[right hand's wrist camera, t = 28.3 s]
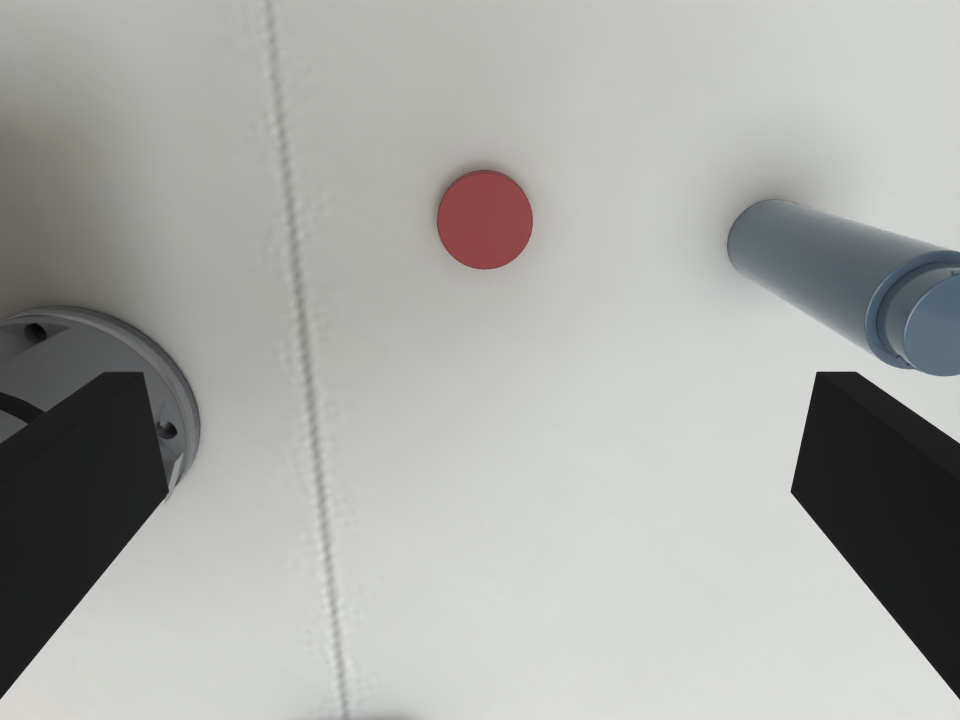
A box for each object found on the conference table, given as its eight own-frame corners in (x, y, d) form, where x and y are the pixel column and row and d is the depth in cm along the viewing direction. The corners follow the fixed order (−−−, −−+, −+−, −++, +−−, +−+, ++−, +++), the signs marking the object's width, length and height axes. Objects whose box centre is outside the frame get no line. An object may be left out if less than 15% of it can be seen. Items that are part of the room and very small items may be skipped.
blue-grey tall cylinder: (808, 271, 39) (1021, 374, 24) (729, 285, 39) (888, 397, 24) (808, 191, 37) (1038, 248, 22) (725, 207, 38) (894, 274, 22)
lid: (422, 198, 37) (419, 203, 36) (503, 152, 36) (504, 154, 35) (467, 277, 39) (466, 285, 37) (545, 235, 38) (548, 241, 36)
